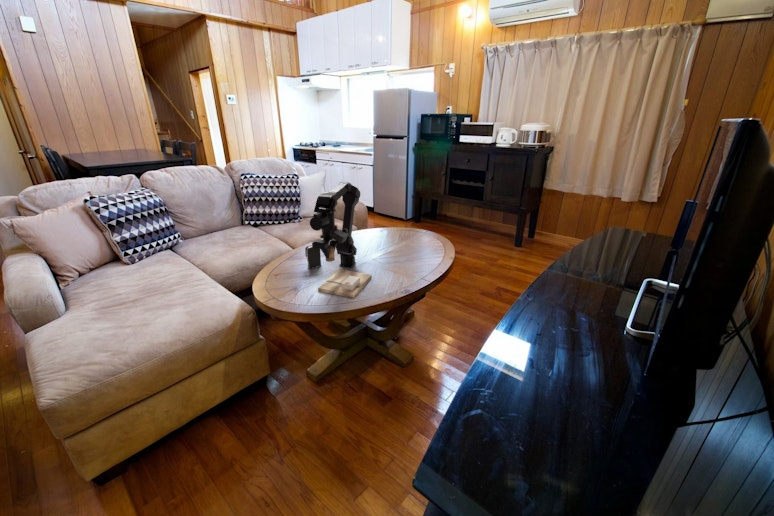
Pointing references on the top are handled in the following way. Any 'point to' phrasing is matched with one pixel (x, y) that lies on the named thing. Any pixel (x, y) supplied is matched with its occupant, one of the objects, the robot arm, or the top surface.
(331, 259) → the brown knobbed cylinder
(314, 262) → the battery charger
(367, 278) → the plank
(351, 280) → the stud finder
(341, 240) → the robot arm
